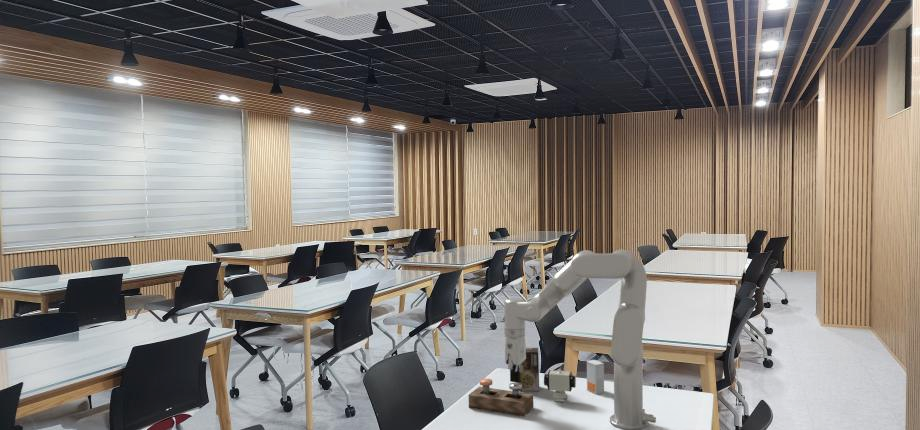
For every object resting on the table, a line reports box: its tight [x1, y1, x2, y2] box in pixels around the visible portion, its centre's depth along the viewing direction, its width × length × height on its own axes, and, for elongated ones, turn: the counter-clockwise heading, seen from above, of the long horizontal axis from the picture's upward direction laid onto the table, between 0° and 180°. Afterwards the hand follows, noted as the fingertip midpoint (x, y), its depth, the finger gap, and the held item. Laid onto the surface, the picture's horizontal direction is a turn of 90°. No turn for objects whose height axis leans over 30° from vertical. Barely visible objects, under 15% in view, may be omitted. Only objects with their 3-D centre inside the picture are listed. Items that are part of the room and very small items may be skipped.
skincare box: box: [586, 359, 605, 395], centre depth 241 cm, size 6×4×12 cm
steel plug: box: [508, 382, 522, 399], centre depth 223 cm, size 5×5×5 cm
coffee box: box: [518, 347, 540, 392], centre depth 246 cm, size 9×6×16 cm
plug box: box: [468, 386, 534, 418], centre depth 226 cm, size 22×10×5 cm, turn 64°
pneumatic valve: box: [543, 369, 577, 403], centre depth 232 cm, size 6×12×12 cm, turn 74°
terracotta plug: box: [479, 378, 493, 395], centre depth 228 cm, size 5×5×5 cm
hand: (514, 381), depth 223 cm, fingers closed
